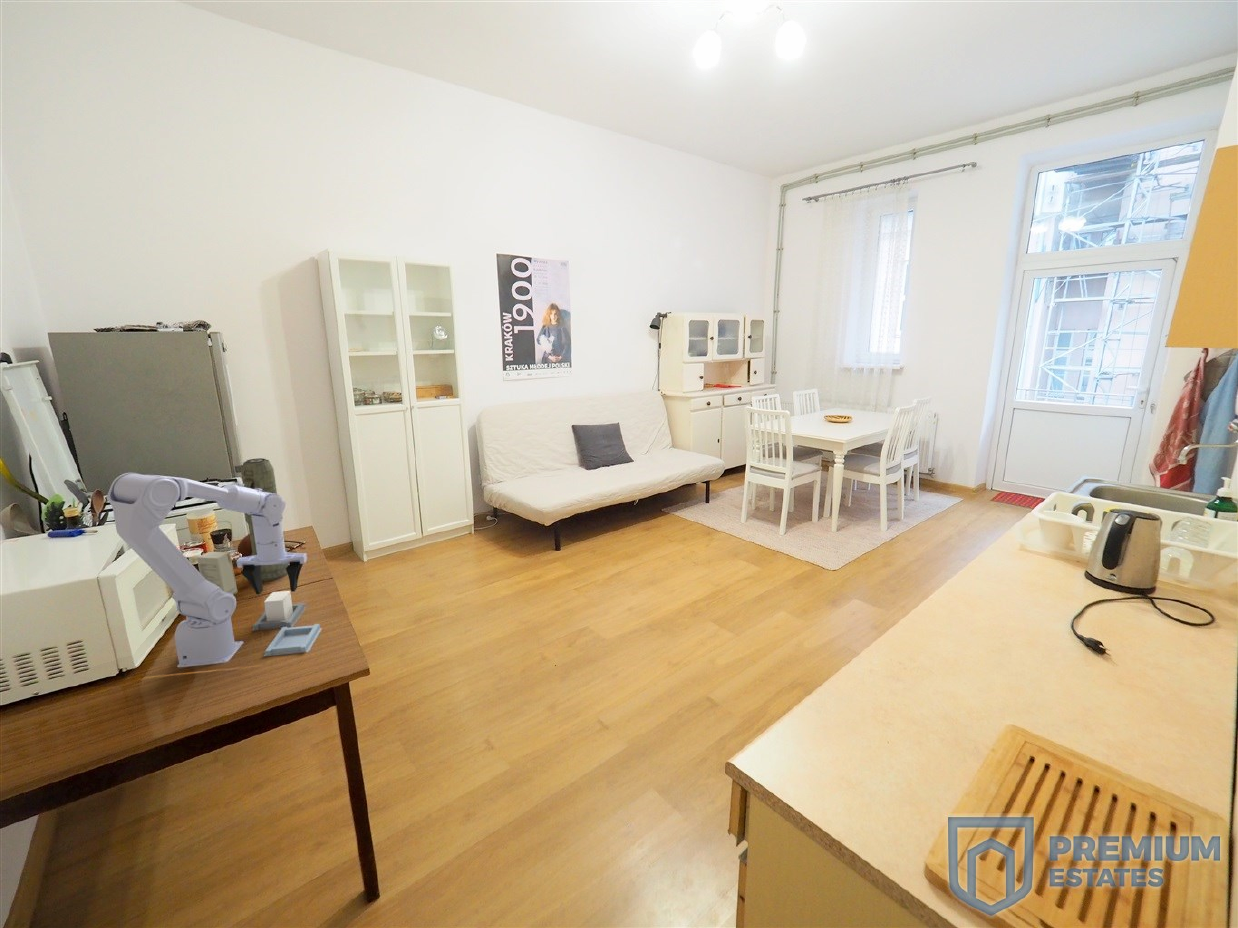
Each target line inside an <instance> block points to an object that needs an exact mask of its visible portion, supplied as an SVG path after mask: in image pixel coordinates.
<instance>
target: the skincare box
mask: <svg viewBox="0 0 1238 928" xmlns="http://www.w3.org/2000/svg"><path fill="white" fill-rule="evenodd" d="M231 555H232V554H231V552H229V551H208V552H206V553H203V554H201V555H199V556H197V557H196V561H197V565H198V572H199V573H200V574H201V575H202V576H203V577H204V578H205V579H206V580H207V581H209V582H211V583H213V584H215V585H216V586H218V587H220V588H221V590H222V591H224V592H227V593H231V594H232V595H235V594H237V593H238V588H237V581H236V577H235V572H234V566H233V562H232V556H231Z"/></svg>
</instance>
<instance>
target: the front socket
mask: <svg viewBox="0 0 1238 928" xmlns="http://www.w3.org/2000/svg"><path fill="white" fill-rule="evenodd" d="M322 630H323V628H322V627H321V625H320V623H314V624H313V625H303V626H293V627H282V628H280V630H279V632H278V633H277V634H276V635H275V637H274V638H273V640H272V641H271V642H270V644H269V645H268V646H267V648H266V650H265V651H264V655H263V657H270V656H279V655H280V656H283V655H291V654H298V653H299V654H301V653H309V652H310V650H311V648H312V646H313V645H314V644H315V642H316V640H317V638H318V636H319V634H321V631H322Z"/></svg>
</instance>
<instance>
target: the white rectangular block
mask: <svg viewBox="0 0 1238 928" xmlns="http://www.w3.org/2000/svg"><path fill="white" fill-rule="evenodd" d="M291 593H292V592H291V590H281V591H272V592H271V593H270V594H269V596H268V597H266V599H265V600H264V601H263V603H264V612H265V611H266V617H267V621H277V620H288V618H289V617H290V616H291V614H292V613H293V608H292V604H293V602H292V595H291Z"/></svg>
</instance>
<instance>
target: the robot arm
mask: <svg viewBox="0 0 1238 928" xmlns="http://www.w3.org/2000/svg"><path fill="white" fill-rule="evenodd" d="M188 497H189V498H194V499H195V498H196V499H201V500H206V501H211V502H212V501H213V502H216V504H217V506H218V507H219V508H220V509H222V510H225V511H226V510H227V511H231V512H238V513H243V514H245V513H247V514H248V515H251V514H252V515H251V517H252V523H253V530H254V537H255V543H256V550H257V555H255V556H249V557H240V556H239V557H238V559H237V560H236V565H237V567H236V568H237V569H241V568H242V570H241V571H240V573H241V575H242V576H243V577H244V578H245V579H246V580H247V581H248V582H249V583H250V585H251V587H252V588H253V590H254V592H255V594H256V595H260V594H261V593H262V592H263V591H264V589H263V588H264V585H263V581H262V579H261V565H273V564H288V563H289V564H288V566H287V568H286V571H287V577H288V581H289V586H290V587H289V589H290V593H292V592H296V590H297V589H298V581H299V575H300V573H301V571H302V567H303V565H304V564H306V562H307V561H308V555H307V553H306V552H304V553H299V552H288V551H287V552H285V548H286V546H285V539H284V531H283V523H282V521H283V519H284V518H283V513H284V511H285V508H286V501H284V500H283V498H282V497H281V496H280V495H279V494H278V493H277V494H275V493H268V492H262V489H260V488H255V489H251V488H247V487H244V484H243V482H242V483H241V482H234V483H229V484H226V485H224V486H222V487H220V486H217V485H213V484H208V483H205V482H202V481H201V482H200V481H197V480H194V479H189V478H186V477H179V476H178V477H176V476H169V475H168V476H167V475H166V476H165V475H158V474H157V475H156V474H141V473H138V472H125V473H122V474H121V475H118V476H117V477H116V478H115V479H114V480H113V482H112V483H111V485H110V488H109V490H108V492H107V495H106V497H105V498H106V500H107V501H108V503H109V504H110V505H111V507H112V511H113V517H114V522H115V529H116V533H117V534H118V536H119V537H120V538H121V539H122V540H123V541H124V542H125V544H127V545H128V546H129V547H130V548H131V549H132V550H133V552H134V553H135V554H137V555H138V556H139V557H140V558H141V559H142V561H143V562H144V563H145V564H146V565H148V567H149V568H150V569H151V570H152V571H153V572H154V573H155V574H156V575H157V576H158V577H159V578H160V579H161V580H162V581H163V582H164V583H165V584H166V585H167V586H168V587H169V588H170V589H171V590H172V591H173V593H172V595H171V598H172V599H173V600H174V601H175V604H176V609H177V611H178V613H179V614H181V615H182V616H185V618H186V619H185V620H182V621H180V623H178V625H177V627H176V629H175V633H174V645H175V649H176V654H177V659H178V664H177V666H176V667H177V668H186V667H195V666H196V667H197V666H207V665H215V664H218V665H219V664H225V663H228V662H230V660H231V659H232V657H233V656H234V655H235V654H236V652H238V651H239V649H240V648H241V647H242V645H243V644H244V641H243V640H240V641H235V635H234V629H233V624H232V619H231V618H232V617H233V616H232V615H233V614H234V612H235V610H236V608H237V599H236V596H234V595H235V594H234V595H232V594H231V593H227V592H224V591H222V590H221V588H220V587H218V586H216V585H215V584H213V583H211V582H209V581H207V580H206V579H205V578H204V577H203V576H202V575H201V574H200V571H199V569H197V568H196V567H195V566H194V564H192V563H191V561H190V560H189V559H188V558H187V557H186V556H185V555H184V554H183V552H182V551H181V550H180V549H179V548H178V547H177V546H176V545H175V544H174V542H173V541H171V539H170V538H169V537H168V535H166V534H165V532H164V531H162V529H161V528H160V525H161V524H162V523H163V521H164V520H165V519H166V517H167V516H168V515H169V513H170V512H171V510H172V509H173V508H174V506H175V505H176V504H177V502H183V501H185V499H186V498H188Z"/></svg>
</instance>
